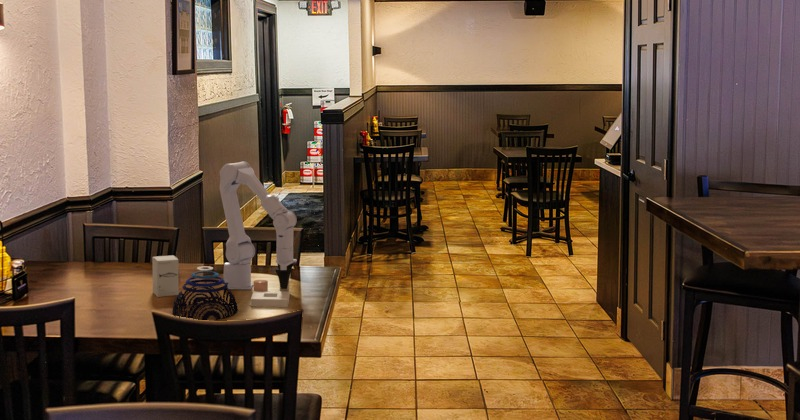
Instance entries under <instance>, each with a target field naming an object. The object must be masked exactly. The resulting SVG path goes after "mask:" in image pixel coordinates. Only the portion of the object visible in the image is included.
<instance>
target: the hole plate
mask: <svg viewBox="0 0 800 420" xmlns="http://www.w3.org/2000/svg"><path fill="white" fill-rule="evenodd" d="M290 293H291V292H290V290H289V291H280V290H279V291H278V290H276V291H274V290H273V291H272V290H271V291H269V290H268V291H254V292H253V293H252V294H251V297H250V307H251V306H263V307H264V306H265V307H267V308H269V307H270V308H273V307H274V308H275V307H276V308H279V307H280V308H288V307H289V303H290V295H291V294H290Z"/></svg>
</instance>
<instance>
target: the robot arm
mask: <svg viewBox="0 0 800 420" xmlns="http://www.w3.org/2000/svg"><path fill="white" fill-rule="evenodd" d="M219 177H220V180H219V193H220V198H221V202H222V207H223V210H224V211H223V212H224V216H225V222H226V225H227V231H228V235H229V237H228V239H227V241H226V243H225V246H226V250H225V257H226V259H227V261H228V262H224V264H223V278H222V279H223V280H224V281H225V283H226V284H227V286H228V287H227V288H228V289H229V290H251V289H252V287H253V282H252V281H251V280H252V278H251V277H252V273H251V272H252V259H253V258H254V256H255V254H256V248H255V245H254V244H253V243H252V240H251V237H249V235H247V234H246V231H245V226H244V222H243V221H244V220H243V217H242V216H243V215H242V213H241V208H240V202H239V197H238V193H237V190H238V188H239V187H240V185H245V186H247V187H248V188H249V189H250V191H252V192H253V194H255V195H256V196H257V197H258V199H259V200H260V202H261V207H262V208H263V209H264V211H265V212H266V213H267V214H268V216H269V217H270V218H271V219H272V220H273V221H272V225H273V226H274V229H275V233H276V254H275V255H276V256H275V257H276V259H275V263H276V264H277V266H278V267H276V268H275V272H276V275H277V278H278V281H279V289H280V288H281V289H287V287H288V281H289V282H290V276H291V274H292V272H293V266H294V264H295V263H297V259H296V258H294V228H295V226H297V225H296V224H297V223H298V222H297V221H298V220H297V218H298V217H297V215H296V214H295V212H294V211H292V210H289V209H288V208H287V207H286V206H284V205H283V203H282V202H281V201H280V198H279V197H278V196H276V195H274V194H270V192H268V191H267V189H266V188H265V186H264V185H263V184H262V182H261V181H260V180H259V178H258V177H257V176H256V173H255V171H254V168H252V167H251V165H250V164H249V162H247V161H243V160H242V161H239V162H234V163H233V162H232V163H225V164H224V165H223V166H222V167H221V168H220V170H219ZM224 285H225V284H223V286H224Z"/></svg>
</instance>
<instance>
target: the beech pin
mask: <svg viewBox="0 0 800 420" xmlns="http://www.w3.org/2000/svg"><path fill="white" fill-rule="evenodd" d="M279 291H290V280H289V281H288V287H287V289H281V288H280V287H279Z"/></svg>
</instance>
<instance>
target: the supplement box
mask: <svg viewBox="0 0 800 420" xmlns="http://www.w3.org/2000/svg"><path fill="white" fill-rule="evenodd" d="M151 259H152V262H151V263H152V266H151V267H152V294H154V295H155V296H156V297H157V298H160V297H161V298H162V297H169V296H170V297H171V296H177V295H178V294H179V291H180V289H179V285H180V284H179V282H180V281H179V259H178V257H177V256H175V255H172V254H171V255H158V256H152V258H151Z"/></svg>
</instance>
